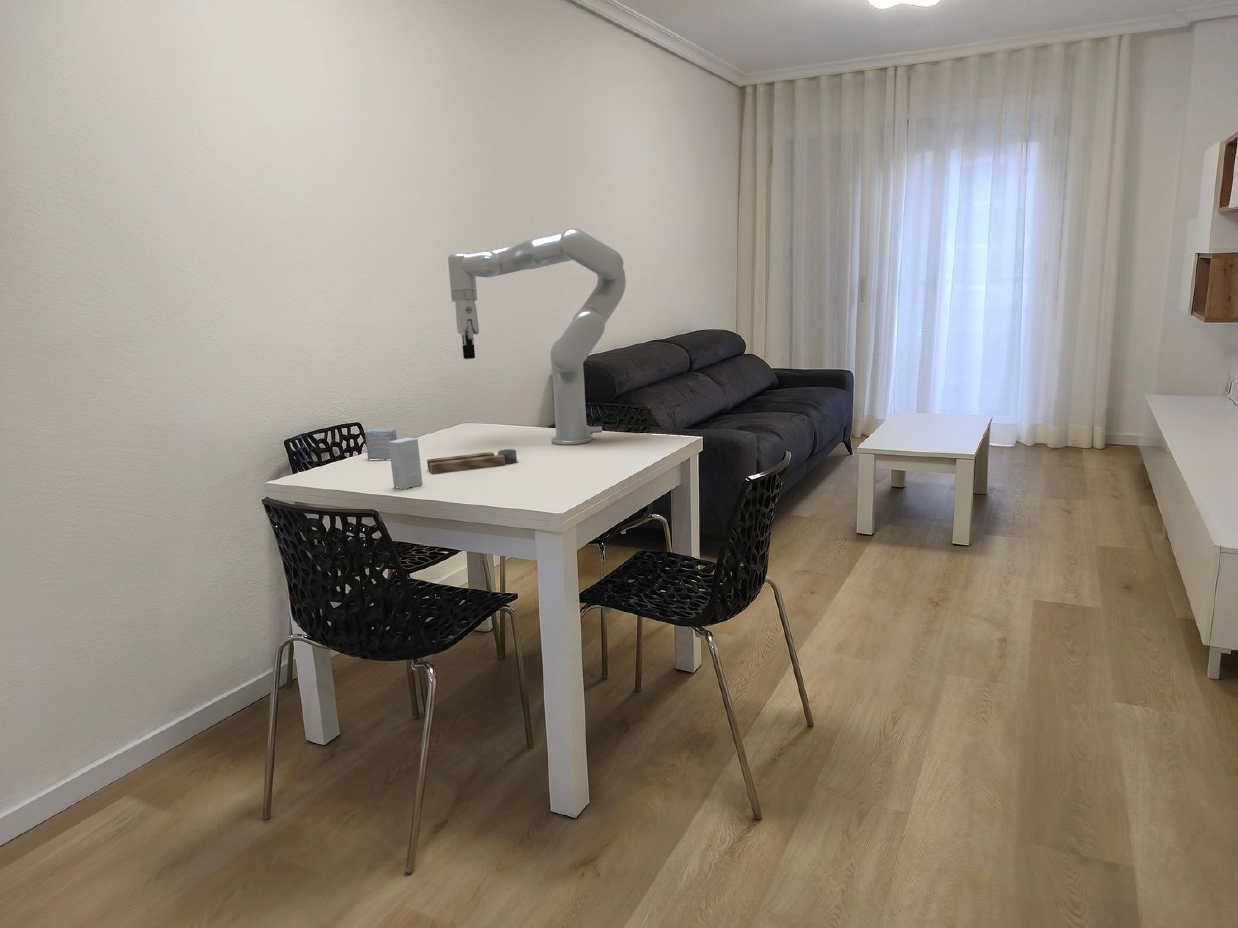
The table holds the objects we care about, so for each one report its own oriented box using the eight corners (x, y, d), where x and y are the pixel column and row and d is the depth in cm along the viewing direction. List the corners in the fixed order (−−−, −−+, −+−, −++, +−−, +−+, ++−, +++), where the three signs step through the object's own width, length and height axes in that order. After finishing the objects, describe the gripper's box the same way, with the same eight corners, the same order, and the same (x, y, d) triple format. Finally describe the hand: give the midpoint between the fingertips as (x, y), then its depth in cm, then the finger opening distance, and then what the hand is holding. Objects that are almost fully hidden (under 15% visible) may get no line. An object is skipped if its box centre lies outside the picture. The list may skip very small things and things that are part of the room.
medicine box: (399, 457, 260) (396, 428, 258) (394, 460, 256) (390, 431, 254) (373, 458, 261) (370, 429, 259) (367, 461, 257) (364, 431, 255)
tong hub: (514, 459, 248) (513, 448, 247) (519, 463, 242) (518, 452, 242) (428, 470, 240) (427, 458, 239) (431, 474, 234) (430, 462, 234)
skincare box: (412, 483, 225) (407, 437, 223) (423, 485, 222) (418, 438, 220) (392, 488, 221) (387, 441, 218) (403, 490, 218) (398, 442, 215)
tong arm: (492, 460, 247) (491, 451, 246) (495, 462, 244) (494, 453, 244) (427, 468, 241) (426, 459, 240) (429, 470, 238) (428, 461, 237)
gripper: (481, 295, 254) (487, 359, 258) (471, 295, 268) (476, 355, 272) (456, 297, 252) (461, 361, 256) (447, 296, 266) (452, 357, 270)
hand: (469, 358), depth 264 cm, fingers closed
